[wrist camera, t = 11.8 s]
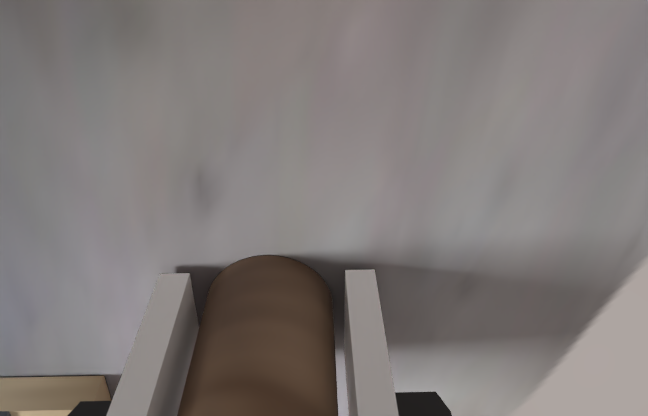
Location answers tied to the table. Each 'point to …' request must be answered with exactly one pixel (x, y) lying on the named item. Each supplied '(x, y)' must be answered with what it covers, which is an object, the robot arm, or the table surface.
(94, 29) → the table surface
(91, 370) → the table surface
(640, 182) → the table surface
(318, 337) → the brown wooden cylinder
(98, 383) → the flat metallic slab
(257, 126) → the table surface
